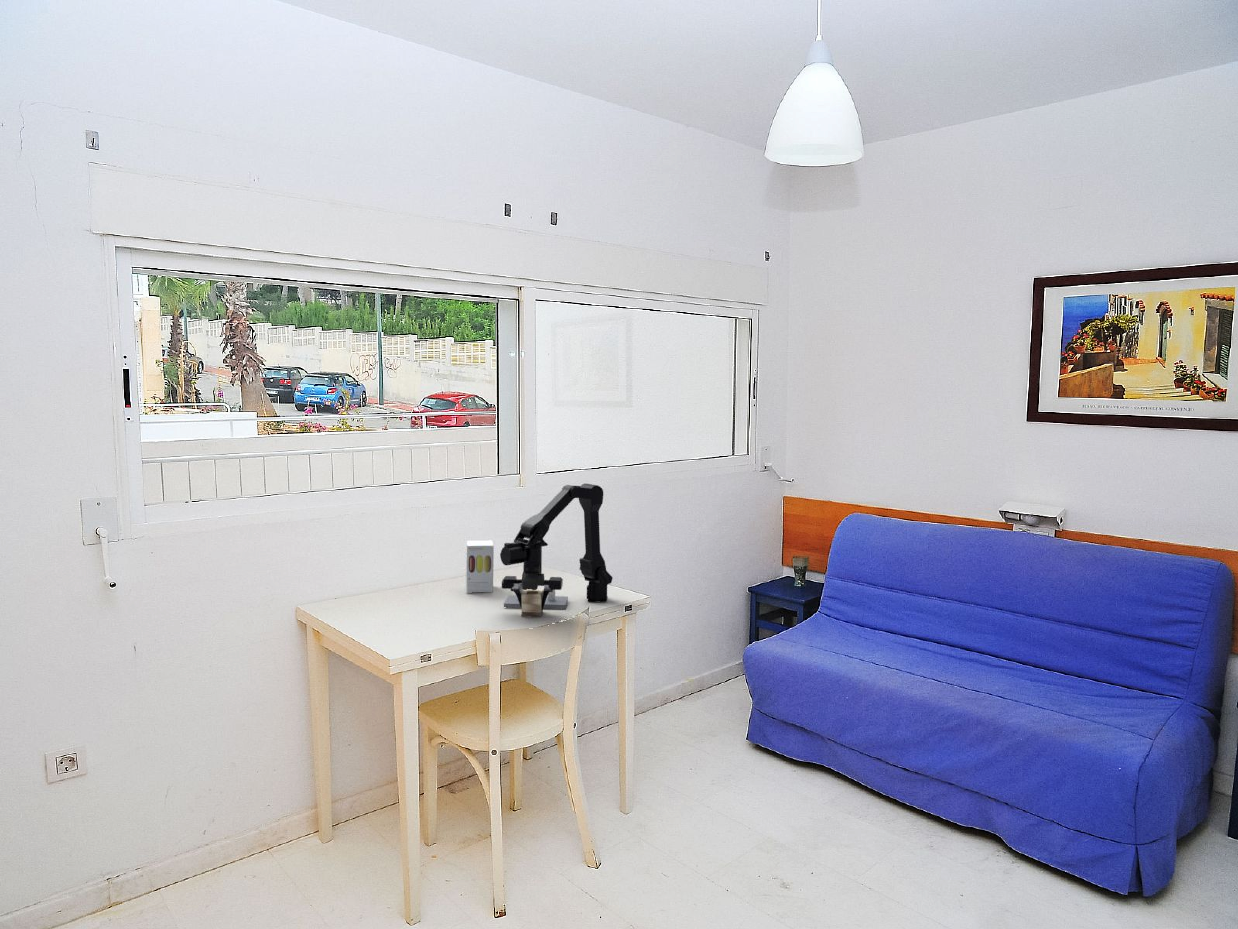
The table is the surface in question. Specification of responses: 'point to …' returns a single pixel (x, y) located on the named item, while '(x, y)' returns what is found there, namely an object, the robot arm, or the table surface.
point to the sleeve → (532, 603)
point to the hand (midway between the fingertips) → (532, 609)
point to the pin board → (550, 603)
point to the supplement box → (479, 566)
